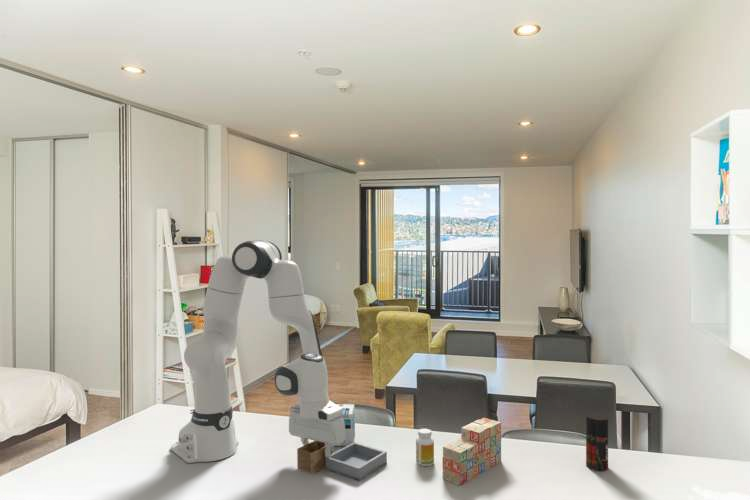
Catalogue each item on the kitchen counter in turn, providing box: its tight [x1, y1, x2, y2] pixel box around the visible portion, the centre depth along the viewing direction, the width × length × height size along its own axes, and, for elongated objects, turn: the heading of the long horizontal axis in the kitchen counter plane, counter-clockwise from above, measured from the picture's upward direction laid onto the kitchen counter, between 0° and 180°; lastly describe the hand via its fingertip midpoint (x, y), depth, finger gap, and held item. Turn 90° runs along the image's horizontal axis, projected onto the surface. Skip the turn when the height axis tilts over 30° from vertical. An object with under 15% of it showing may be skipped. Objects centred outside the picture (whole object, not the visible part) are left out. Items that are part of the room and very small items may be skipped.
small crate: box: [296, 440, 334, 475], centre depth 148 cm, size 9×6×6 cm, turn 144°
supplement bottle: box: [415, 428, 435, 467], centre depth 149 cm, size 5×5×10 cm
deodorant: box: [585, 412, 609, 472], centre depth 146 cm, size 6×6×15 cm
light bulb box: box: [333, 403, 356, 447], centre depth 167 cm, size 11×7×11 cm, turn 179°
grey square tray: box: [325, 441, 388, 482], centre depth 147 cm, size 13×14×4 cm
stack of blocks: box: [442, 417, 502, 486], centre depth 145 cm, size 21×6×12 cm, turn 135°
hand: (317, 454), depth 148 cm, fingers closed on small crate, 6 cm apart
